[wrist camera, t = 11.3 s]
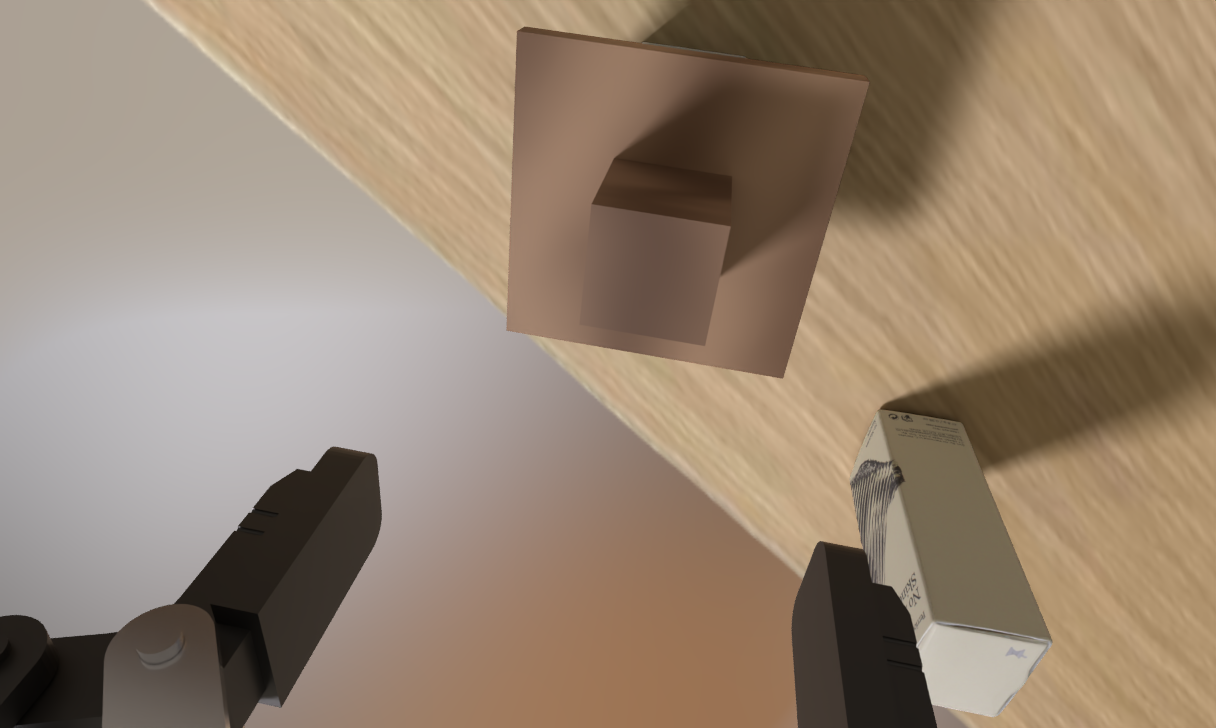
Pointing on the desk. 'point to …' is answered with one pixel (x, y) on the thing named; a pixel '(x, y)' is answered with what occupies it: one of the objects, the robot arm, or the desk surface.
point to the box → (947, 560)
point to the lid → (671, 196)
